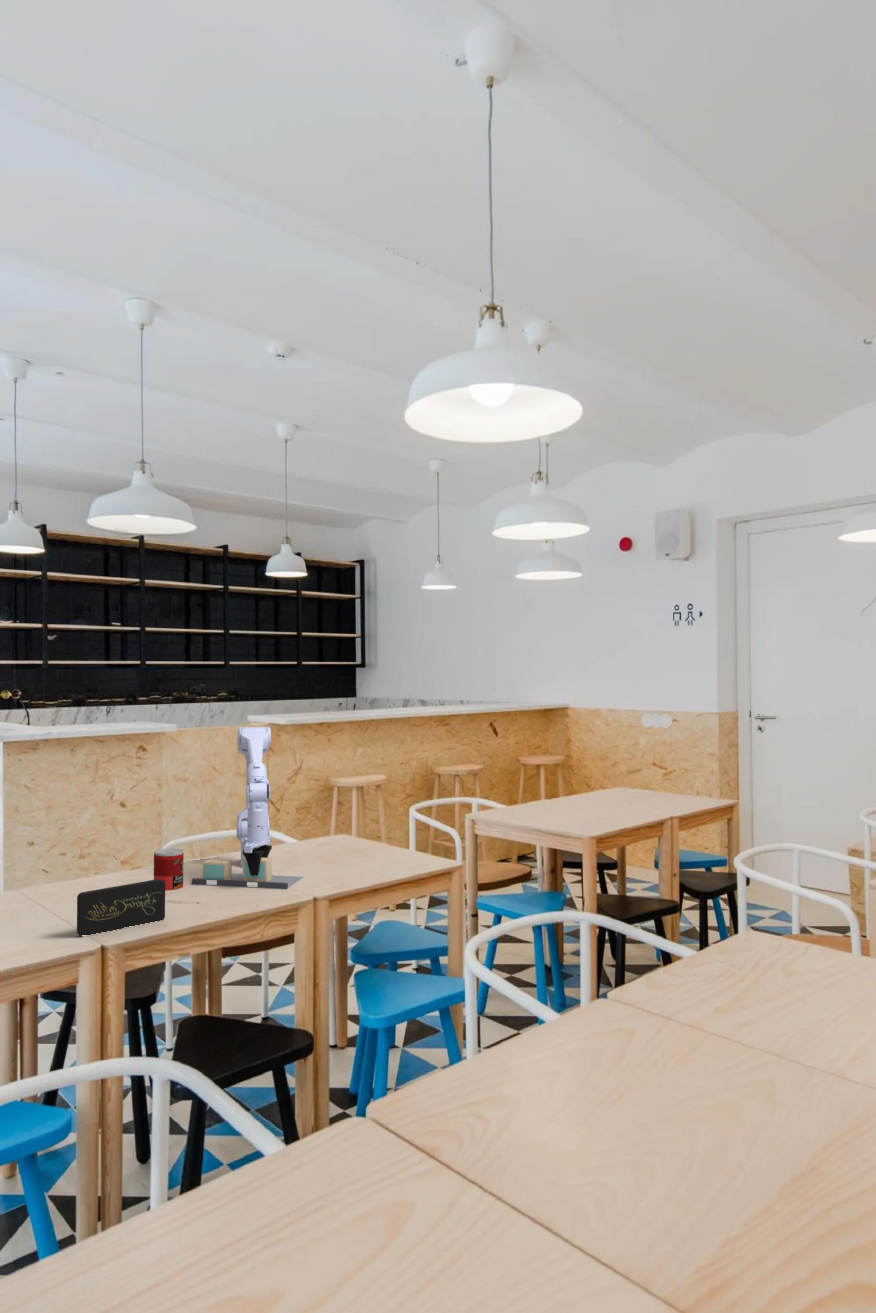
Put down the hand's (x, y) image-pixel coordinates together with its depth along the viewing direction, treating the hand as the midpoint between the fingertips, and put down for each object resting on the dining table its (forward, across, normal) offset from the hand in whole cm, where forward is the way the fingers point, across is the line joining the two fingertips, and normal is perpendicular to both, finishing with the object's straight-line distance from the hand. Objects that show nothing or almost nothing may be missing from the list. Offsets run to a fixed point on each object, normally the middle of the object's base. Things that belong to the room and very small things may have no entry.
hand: (257, 873), depth 251 cm
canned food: (+4, +8, -23) cm, 25 cm away
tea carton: (+2, 0, 0) cm, 2 cm away
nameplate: (+4, +42, -17) cm, 46 cm away
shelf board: (+4, -3, -4) cm, 7 cm away
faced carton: (+3, 0, -12) cm, 12 cm away
